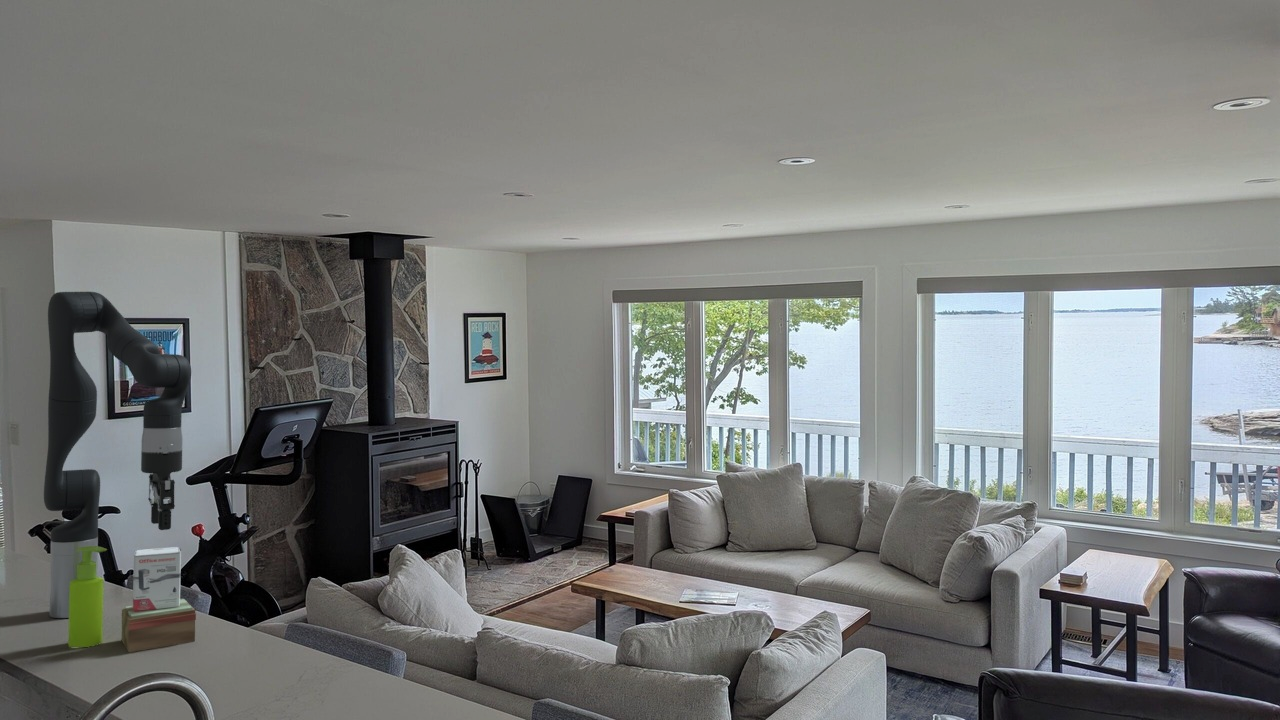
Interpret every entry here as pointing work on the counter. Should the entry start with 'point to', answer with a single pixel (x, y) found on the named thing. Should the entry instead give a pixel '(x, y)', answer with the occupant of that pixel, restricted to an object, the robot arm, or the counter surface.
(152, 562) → the ink box
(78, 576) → the soap dispenser
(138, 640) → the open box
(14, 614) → the counter surface
